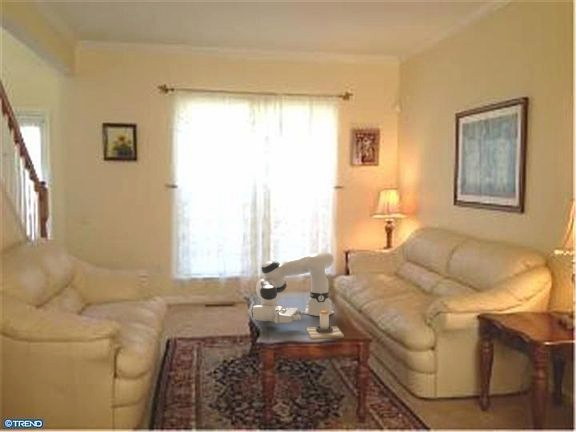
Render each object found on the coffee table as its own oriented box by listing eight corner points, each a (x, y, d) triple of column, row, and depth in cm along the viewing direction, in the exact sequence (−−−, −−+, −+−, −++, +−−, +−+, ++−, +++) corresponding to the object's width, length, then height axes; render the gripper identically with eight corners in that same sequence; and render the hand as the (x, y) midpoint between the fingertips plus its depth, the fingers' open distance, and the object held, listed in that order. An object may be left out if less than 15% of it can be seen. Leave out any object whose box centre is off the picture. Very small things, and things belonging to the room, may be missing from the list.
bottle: (318, 330, 294) (319, 310, 294) (327, 329, 295) (327, 310, 294) (320, 332, 289) (320, 312, 289) (329, 332, 290) (329, 312, 289)
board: (305, 329, 300) (305, 323, 300) (336, 328, 302) (337, 323, 302) (310, 338, 282) (310, 332, 282) (343, 337, 284) (343, 331, 284)
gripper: (283, 315, 308) (306, 316, 305) (274, 324, 288) (299, 325, 285) (283, 304, 308) (306, 305, 304) (274, 312, 288) (299, 314, 284)
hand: (303, 315), depth 294 cm, fingers open, 8 cm apart
